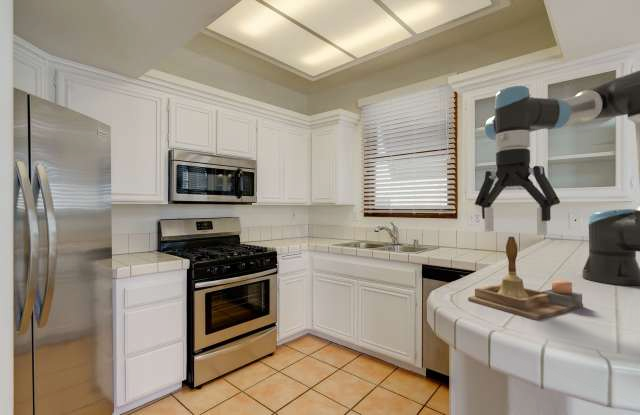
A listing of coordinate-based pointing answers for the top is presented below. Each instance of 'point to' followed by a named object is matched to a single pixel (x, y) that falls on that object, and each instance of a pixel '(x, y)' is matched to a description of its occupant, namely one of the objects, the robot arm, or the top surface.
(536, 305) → the station
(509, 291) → the hand bell
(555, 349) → the top surface
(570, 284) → the button
